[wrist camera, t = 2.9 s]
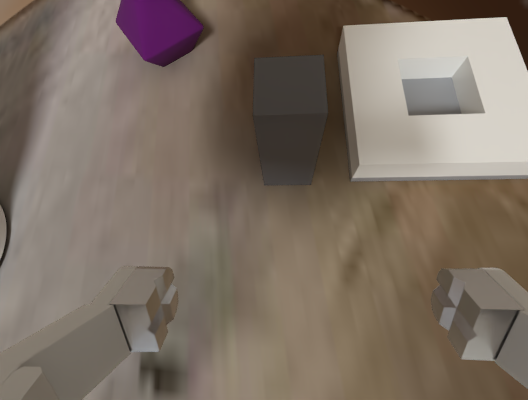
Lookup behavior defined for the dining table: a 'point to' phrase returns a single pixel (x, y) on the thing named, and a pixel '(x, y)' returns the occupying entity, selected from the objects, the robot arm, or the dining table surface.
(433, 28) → the socket block
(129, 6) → the perfume bottle
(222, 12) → the dining table surface
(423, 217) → the dining table surface
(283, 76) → the plug
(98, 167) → the dining table surface
